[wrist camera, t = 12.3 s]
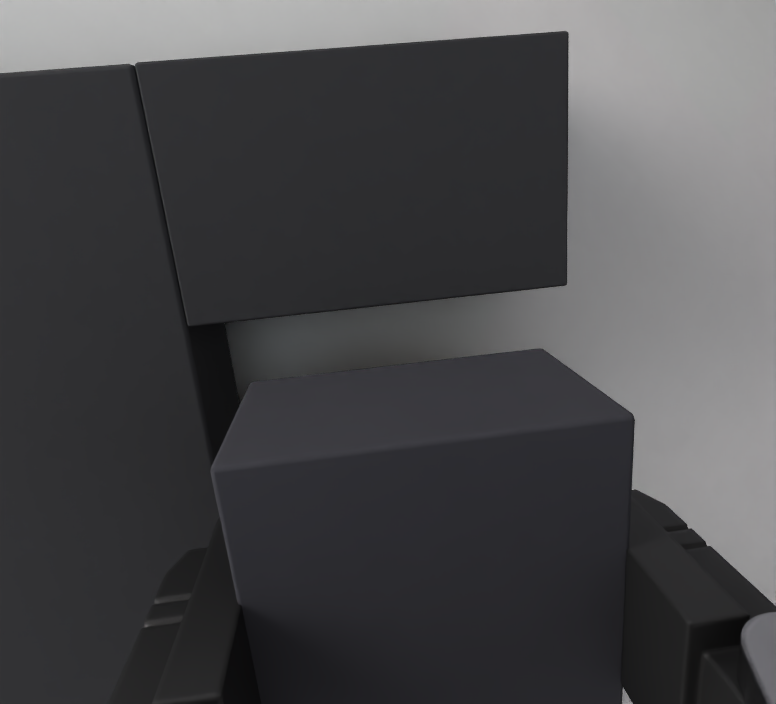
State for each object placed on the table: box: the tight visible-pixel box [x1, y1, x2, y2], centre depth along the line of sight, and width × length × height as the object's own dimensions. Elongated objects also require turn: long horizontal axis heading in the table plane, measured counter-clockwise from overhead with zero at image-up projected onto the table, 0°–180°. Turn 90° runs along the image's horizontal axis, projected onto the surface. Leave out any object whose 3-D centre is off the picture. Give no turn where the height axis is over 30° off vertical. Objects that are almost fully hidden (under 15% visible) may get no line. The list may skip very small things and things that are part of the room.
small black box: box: [210, 348, 635, 704], centre depth 8 cm, size 5×6×3 cm
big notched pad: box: [0, 31, 568, 704], centre depth 12 cm, size 24×16×3 cm, turn 95°
